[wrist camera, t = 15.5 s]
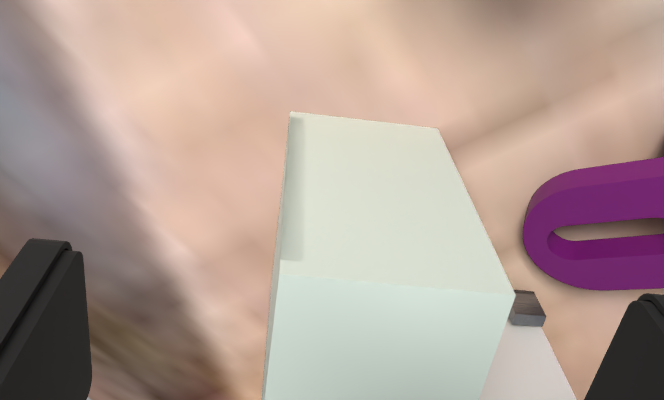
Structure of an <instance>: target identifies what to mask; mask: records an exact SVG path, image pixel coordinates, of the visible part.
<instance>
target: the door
mask: <svg viewBox="0 0 664 400" xmlns="http://www.w3.org/2000/svg"><path fill="white" fill-rule="evenodd" d="M479 400H577V399H576V397H575V395H574V393H573V391H572V389H571V387H570V385H569V383H568V381H567V379H566V377H565V375H564V372H563V370H562V368H561V366H560V364H559V362H558V360H557V358H556V356H555V354H554V352H553V350H552V348H551V346H550V344H549V342H548V340H547V338H546V336H545V334H544V332H543V330H542V328H541V327H539V326H528V325H516V324H512V323H511V321H510V319H509V316H508V319H507V322H506V324H505V327H504V330H503V333H502V336H501V339H500V341H499V344H498V347H497V350H496V353H495V355H494V358H493V361H492V364H491V367H490V369H489V372H488V375H487V378H486V381H485V384H484V386H483V389H482V392H481V395H480V398H479Z"/></svg>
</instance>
